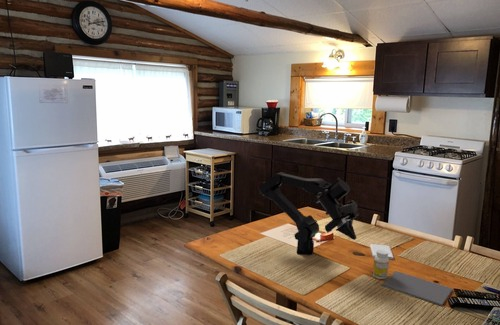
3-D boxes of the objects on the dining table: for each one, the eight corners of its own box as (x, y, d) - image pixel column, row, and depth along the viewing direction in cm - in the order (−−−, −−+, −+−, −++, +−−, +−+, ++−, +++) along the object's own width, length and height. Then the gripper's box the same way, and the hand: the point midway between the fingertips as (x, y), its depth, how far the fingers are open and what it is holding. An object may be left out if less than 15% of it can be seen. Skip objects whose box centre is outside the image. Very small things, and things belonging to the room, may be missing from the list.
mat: (381, 285, 138) (381, 284, 138) (395, 272, 148) (395, 270, 148) (441, 306, 125) (441, 304, 125) (452, 290, 136) (452, 288, 136)
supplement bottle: (384, 280, 141) (386, 256, 140) (370, 276, 145) (372, 252, 143) (389, 275, 146) (392, 251, 144) (376, 271, 149) (378, 247, 147)
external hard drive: (389, 249, 173) (393, 260, 161) (370, 247, 174) (373, 258, 162) (389, 245, 172) (393, 256, 160) (370, 243, 174) (373, 254, 162)
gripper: (333, 199, 143) (359, 235, 138) (356, 190, 158) (380, 222, 152) (314, 215, 150) (338, 249, 145) (337, 205, 164) (360, 236, 159)
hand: (355, 239), depth 150 cm, fingers closed
